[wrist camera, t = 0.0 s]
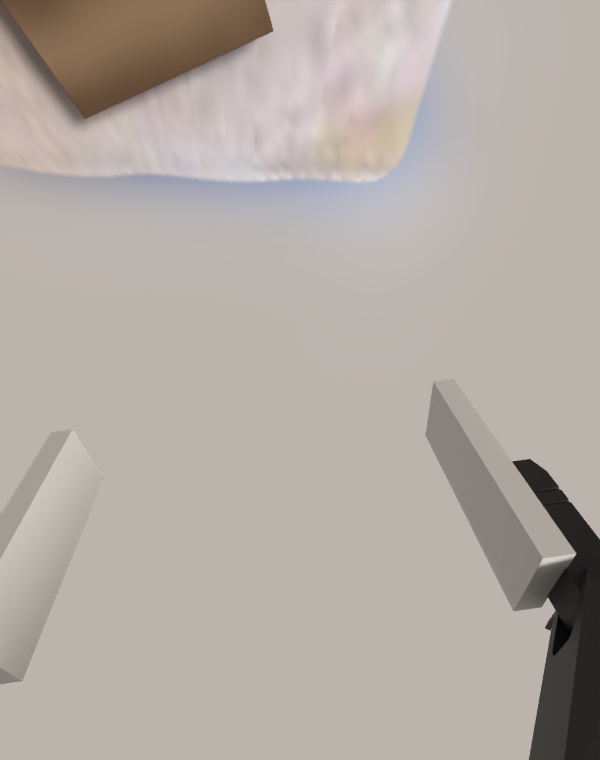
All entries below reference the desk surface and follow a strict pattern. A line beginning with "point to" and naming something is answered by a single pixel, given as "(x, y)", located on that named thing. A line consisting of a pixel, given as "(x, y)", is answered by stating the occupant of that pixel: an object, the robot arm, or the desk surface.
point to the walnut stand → (132, 41)
